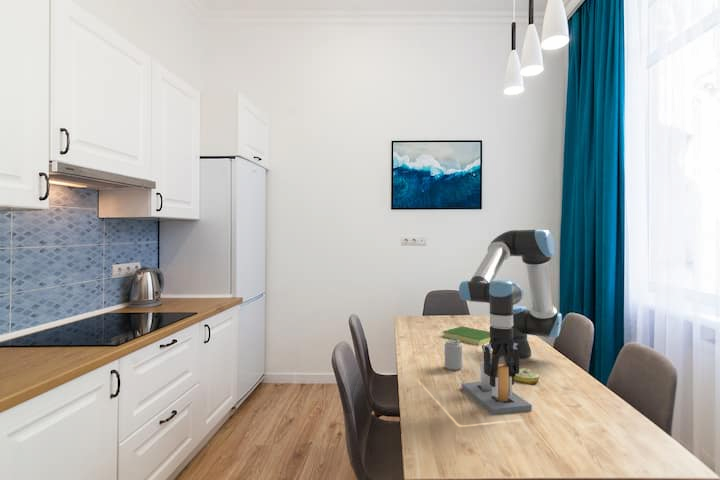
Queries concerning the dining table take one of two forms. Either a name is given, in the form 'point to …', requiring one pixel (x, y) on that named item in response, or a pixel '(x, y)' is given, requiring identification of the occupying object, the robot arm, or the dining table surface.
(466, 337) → the hardcover book
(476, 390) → the housing
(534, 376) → the decorated donut
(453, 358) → the can
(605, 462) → the dining table surface
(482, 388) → the white rounded peg
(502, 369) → the tan tapered peg
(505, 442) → the dining table surface
